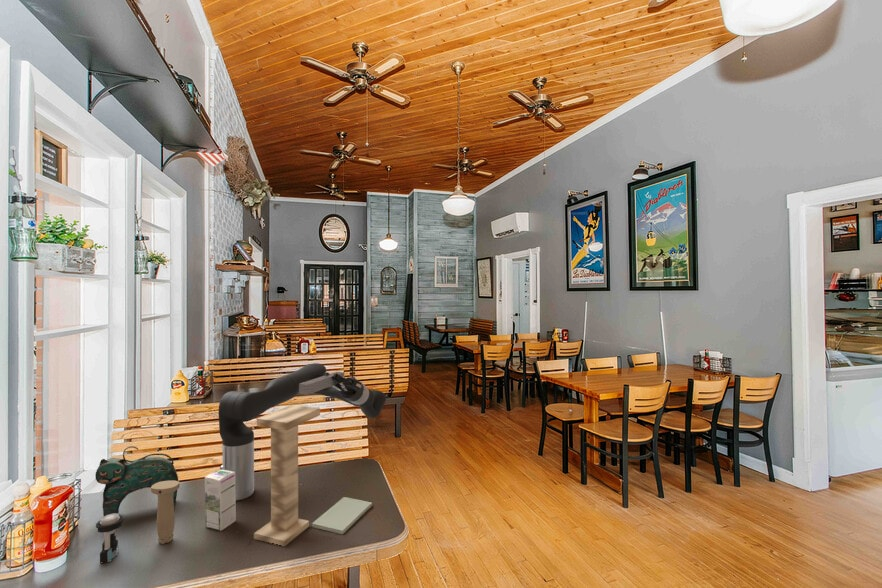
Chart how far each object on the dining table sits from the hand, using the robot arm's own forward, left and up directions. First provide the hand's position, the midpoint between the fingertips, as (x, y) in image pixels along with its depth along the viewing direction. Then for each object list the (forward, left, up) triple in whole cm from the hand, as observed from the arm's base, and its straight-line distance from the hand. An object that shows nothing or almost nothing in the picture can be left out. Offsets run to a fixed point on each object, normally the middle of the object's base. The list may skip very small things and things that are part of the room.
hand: (329, 375), depth 135 cm
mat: (+11, -9, -39) cm, 41 cm away
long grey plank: (0, -4, -3) cm, 5 cm away
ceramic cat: (-48, -28, -39) cm, 68 cm away
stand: (0, -20, -39) cm, 44 cm away
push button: (-33, -45, -39) cm, 68 cm away
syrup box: (-19, -25, -39) cm, 50 cm away
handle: (-26, -36, -39) cm, 59 cm away
